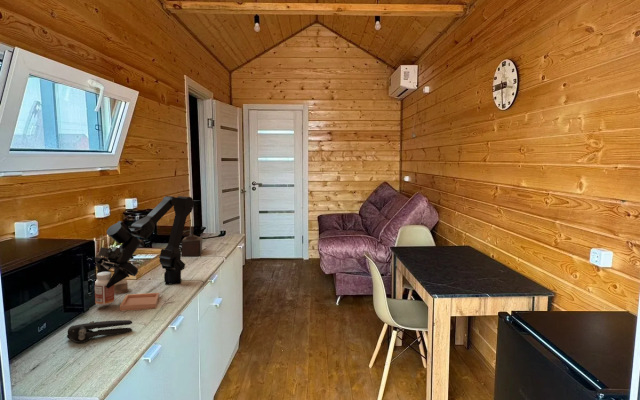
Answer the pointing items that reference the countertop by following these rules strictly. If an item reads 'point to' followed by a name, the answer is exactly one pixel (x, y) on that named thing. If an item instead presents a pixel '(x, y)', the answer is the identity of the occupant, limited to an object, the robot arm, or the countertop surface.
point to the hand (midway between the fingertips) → (100, 286)
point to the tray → (139, 301)
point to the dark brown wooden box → (191, 245)
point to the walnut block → (121, 287)
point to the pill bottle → (103, 289)
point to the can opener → (85, 330)
